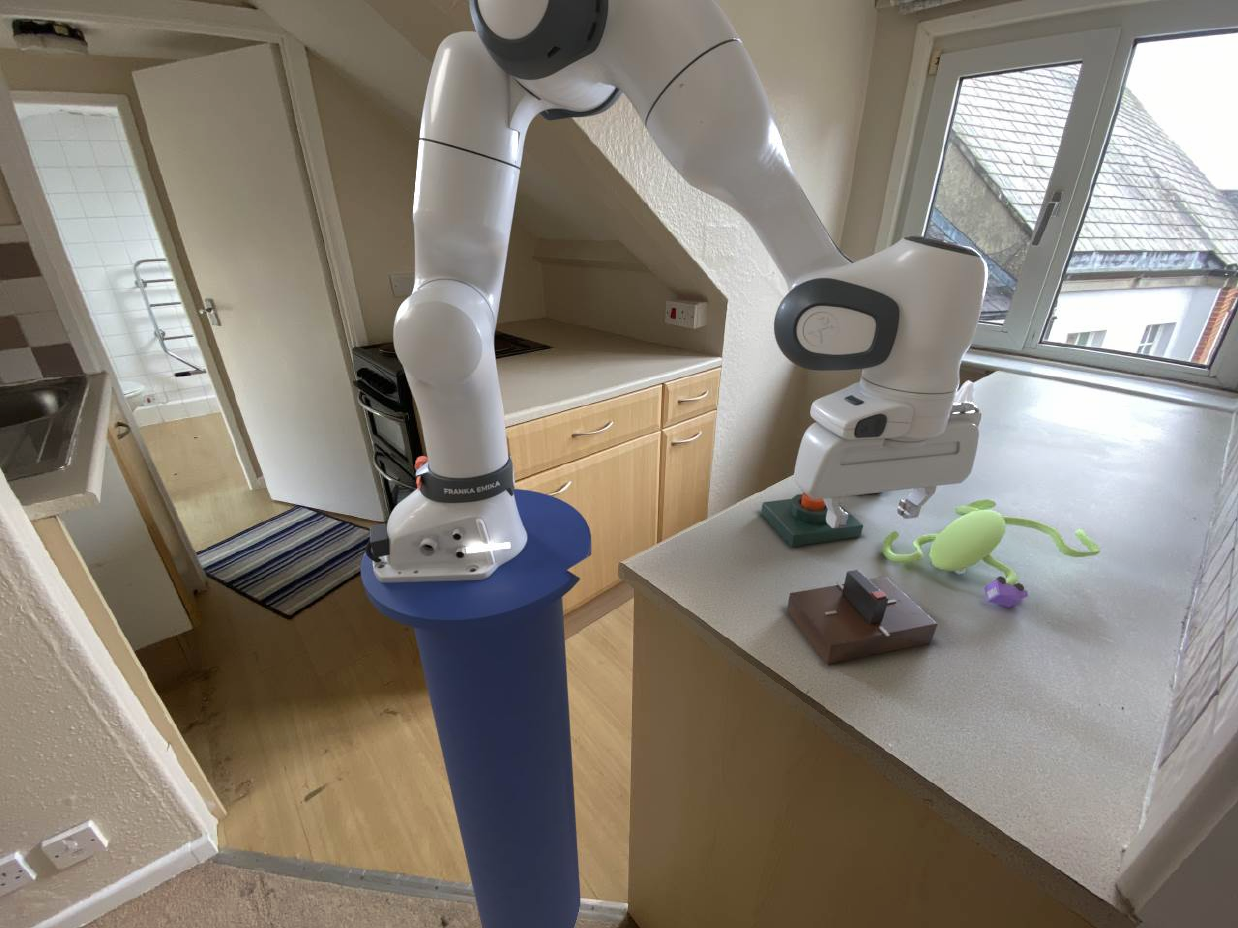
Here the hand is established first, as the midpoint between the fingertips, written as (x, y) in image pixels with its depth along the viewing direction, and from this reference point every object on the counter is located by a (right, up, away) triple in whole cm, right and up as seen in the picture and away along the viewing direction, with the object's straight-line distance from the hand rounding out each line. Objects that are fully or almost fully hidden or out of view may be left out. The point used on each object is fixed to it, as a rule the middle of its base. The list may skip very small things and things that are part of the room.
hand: (871, 520), depth 61 cm
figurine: (+25, -7, +17) cm, 31 cm away
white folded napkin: (+50, +15, +63) cm, 82 cm away
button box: (+2, -3, +25) cm, 25 cm away
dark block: (0, -11, +3) cm, 11 cm away
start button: (+2, 0, +23) cm, 23 cm away
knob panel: (0, -14, +4) cm, 14 cm away
